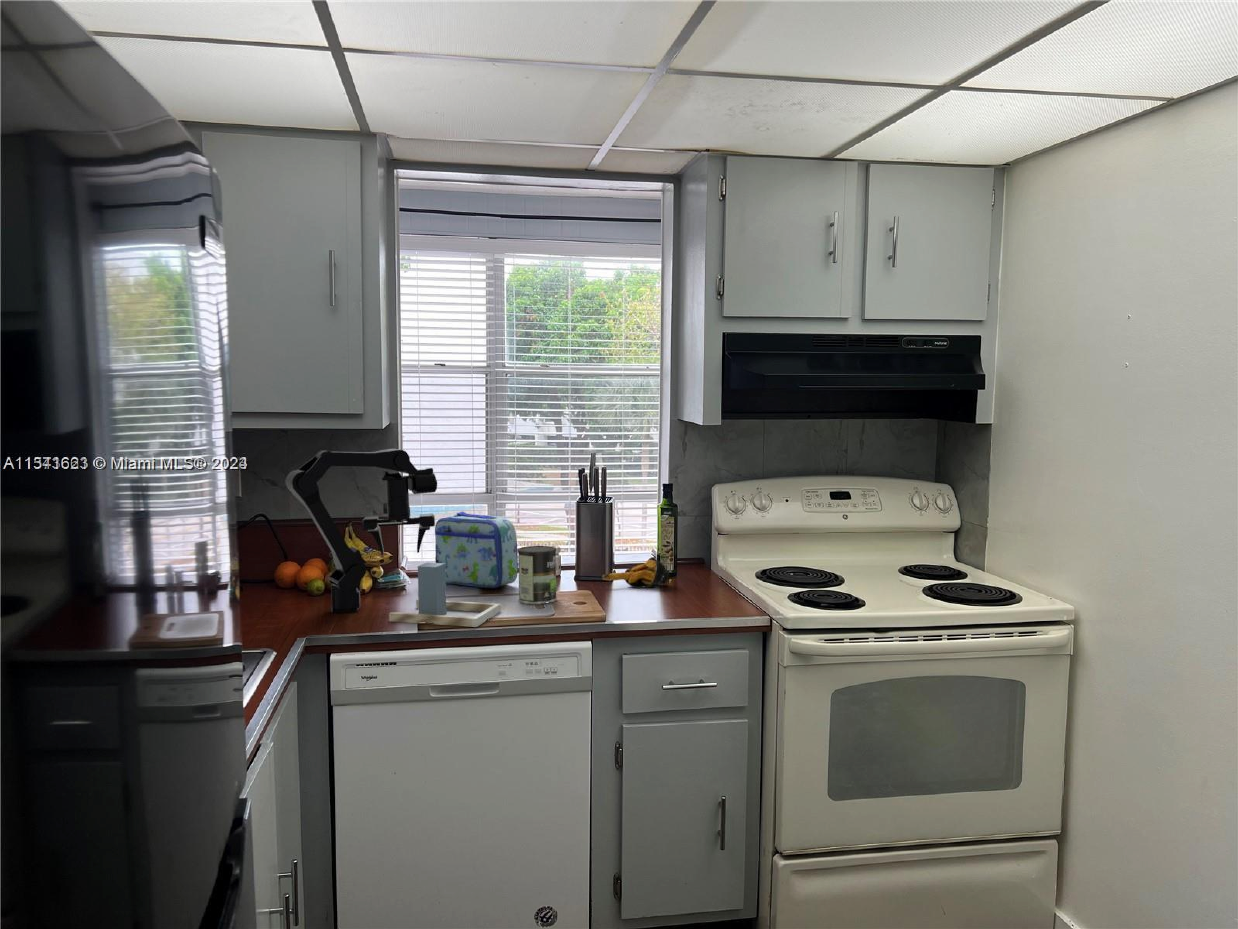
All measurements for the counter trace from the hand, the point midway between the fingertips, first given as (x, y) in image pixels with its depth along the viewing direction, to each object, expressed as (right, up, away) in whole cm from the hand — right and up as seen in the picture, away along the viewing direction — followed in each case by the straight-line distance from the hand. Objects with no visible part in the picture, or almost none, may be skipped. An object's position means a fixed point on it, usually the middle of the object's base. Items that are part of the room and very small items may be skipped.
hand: (400, 553), depth 234 cm
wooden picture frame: (+15, -14, -15) cm, 26 cm away
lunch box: (+17, -12, +22) cm, 30 cm away
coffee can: (+37, -13, +2) cm, 39 cm away
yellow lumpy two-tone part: (+64, -12, +17) cm, 67 cm away
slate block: (+12, -14, -14) cm, 23 cm away
